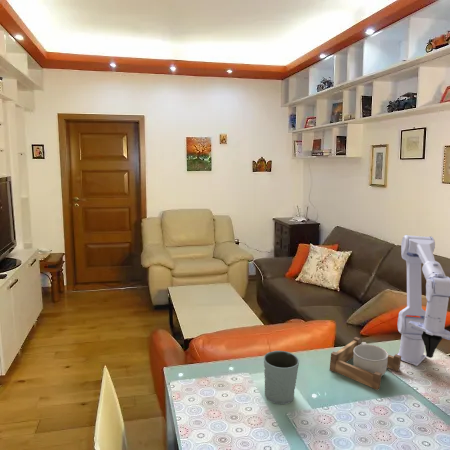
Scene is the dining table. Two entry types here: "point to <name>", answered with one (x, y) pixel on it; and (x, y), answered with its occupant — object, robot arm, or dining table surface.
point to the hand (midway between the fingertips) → (429, 356)
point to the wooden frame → (356, 373)
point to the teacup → (370, 358)
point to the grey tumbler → (280, 376)
